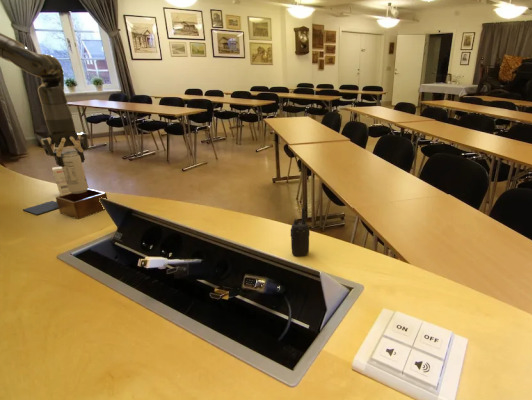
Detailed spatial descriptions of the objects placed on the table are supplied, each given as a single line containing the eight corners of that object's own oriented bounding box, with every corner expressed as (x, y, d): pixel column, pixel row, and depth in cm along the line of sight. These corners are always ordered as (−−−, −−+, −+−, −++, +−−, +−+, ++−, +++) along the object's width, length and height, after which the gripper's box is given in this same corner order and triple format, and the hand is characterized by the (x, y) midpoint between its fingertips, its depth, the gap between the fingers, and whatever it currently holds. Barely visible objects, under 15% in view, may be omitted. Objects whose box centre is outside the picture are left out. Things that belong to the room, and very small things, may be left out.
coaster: (36, 215, 119) (36, 214, 119) (23, 210, 123) (22, 209, 123) (66, 206, 127) (66, 205, 127) (52, 201, 131) (52, 200, 131)
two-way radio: (308, 250, 98) (308, 205, 92) (310, 258, 94) (310, 211, 88) (290, 251, 97) (289, 206, 91) (291, 259, 93) (290, 212, 87)
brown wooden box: (78, 219, 117) (73, 203, 114) (60, 213, 121) (55, 197, 119) (109, 207, 126) (105, 192, 124) (92, 202, 131) (88, 188, 129)
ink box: (82, 188, 146) (75, 163, 142) (84, 191, 143) (77, 166, 138) (59, 193, 141) (51, 167, 136) (61, 196, 137) (52, 169, 133)
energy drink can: (92, 189, 122) (82, 151, 117) (77, 195, 117) (65, 155, 112) (81, 187, 124) (71, 149, 119) (65, 192, 119) (53, 153, 113)
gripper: (74, 114, 118) (86, 158, 124) (27, 118, 106) (43, 167, 112) (86, 115, 115) (98, 161, 121) (39, 120, 103) (55, 170, 109)
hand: (71, 164), depth 117 cm, fingers closed on energy drink can, 6 cm apart
